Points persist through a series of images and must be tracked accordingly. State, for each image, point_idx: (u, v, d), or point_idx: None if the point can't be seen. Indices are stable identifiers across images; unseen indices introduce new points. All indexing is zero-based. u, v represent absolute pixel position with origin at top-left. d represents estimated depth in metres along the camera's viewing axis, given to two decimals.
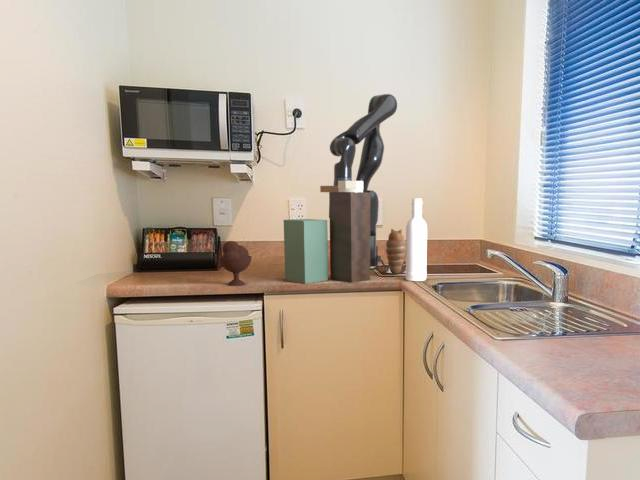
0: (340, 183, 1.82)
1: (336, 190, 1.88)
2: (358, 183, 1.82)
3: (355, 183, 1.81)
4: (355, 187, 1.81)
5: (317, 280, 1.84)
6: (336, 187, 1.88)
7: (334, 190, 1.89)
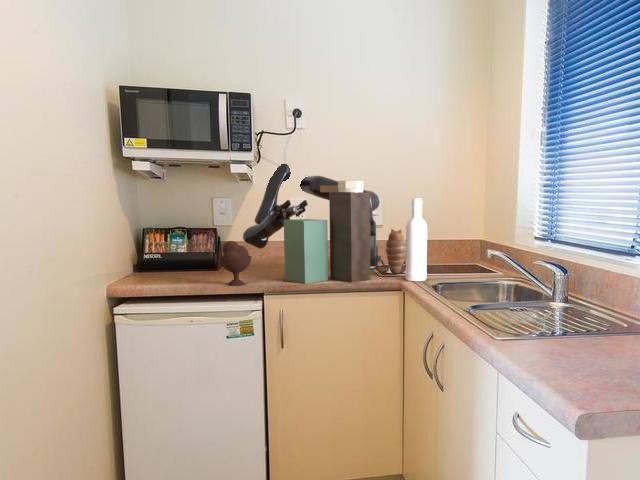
0: (340, 183, 1.82)
1: (336, 190, 1.88)
2: (358, 183, 1.82)
3: (355, 183, 1.81)
4: (355, 187, 1.81)
5: (317, 280, 1.84)
6: (336, 187, 1.88)
7: (334, 190, 1.89)
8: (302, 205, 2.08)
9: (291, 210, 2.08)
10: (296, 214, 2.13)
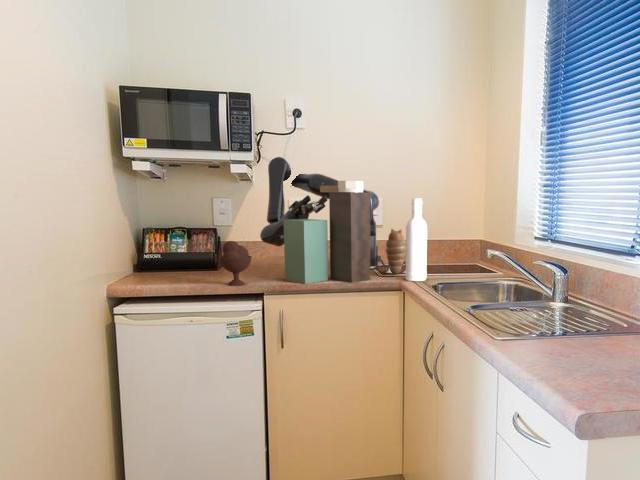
0: (340, 183, 1.82)
1: (336, 190, 1.88)
2: (358, 183, 1.82)
3: (355, 183, 1.81)
4: (355, 187, 1.81)
5: (317, 280, 1.84)
6: (336, 187, 1.88)
7: (334, 190, 1.89)
8: (322, 201, 2.01)
9: (310, 206, 2.01)
10: (315, 211, 2.06)
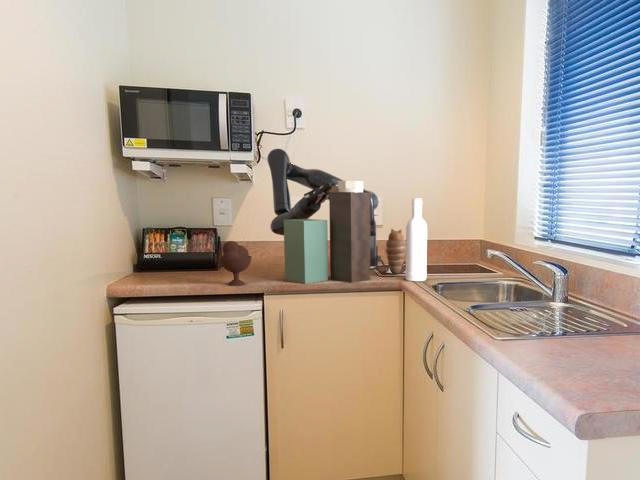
0: (340, 183, 1.82)
1: (336, 190, 1.88)
2: (358, 183, 1.81)
3: (355, 183, 1.81)
4: (355, 187, 1.81)
5: (317, 280, 1.84)
6: (336, 187, 1.88)
7: (334, 190, 1.89)
8: None
9: (323, 195, 1.95)
10: (328, 198, 2.00)
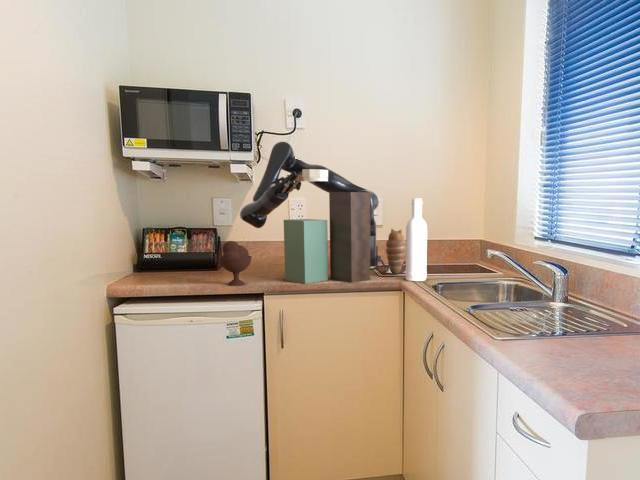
0: (304, 172, 1.82)
1: (301, 179, 1.89)
2: (322, 172, 1.82)
3: (319, 172, 1.81)
4: (319, 176, 1.81)
5: (317, 280, 1.84)
6: (301, 176, 1.88)
7: (300, 179, 1.89)
8: None
9: (290, 185, 1.96)
10: None
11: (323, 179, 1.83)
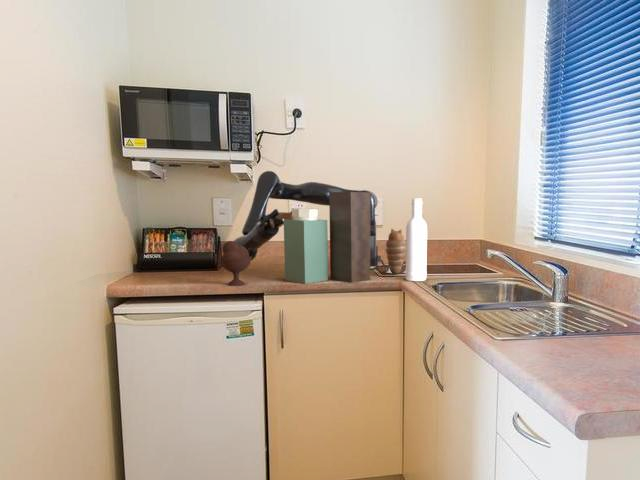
0: (294, 211, 1.81)
1: (291, 217, 1.87)
2: (312, 211, 1.80)
3: (308, 211, 1.79)
4: (308, 215, 1.80)
5: (317, 280, 1.84)
6: (291, 214, 1.87)
7: (289, 217, 1.88)
8: None
9: (280, 220, 1.94)
10: None
11: (313, 218, 1.81)
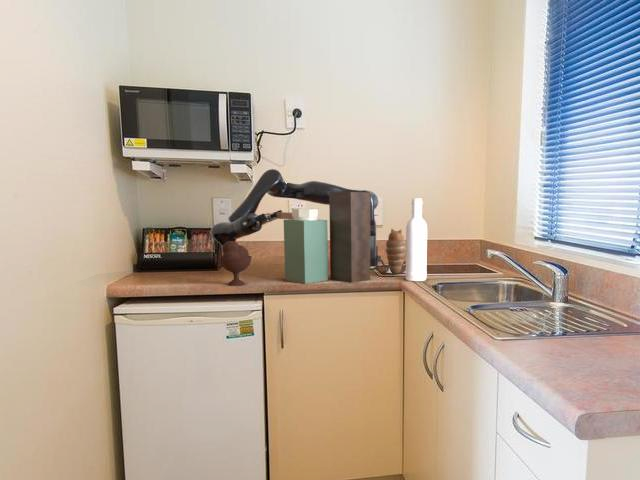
0: (294, 211, 1.81)
1: (291, 217, 1.87)
2: (312, 211, 1.80)
3: (308, 211, 1.79)
4: (308, 215, 1.80)
5: (317, 280, 1.84)
6: (291, 214, 1.87)
7: (289, 217, 1.88)
8: None
9: (265, 219, 1.99)
10: (269, 220, 2.04)
11: (313, 218, 1.81)
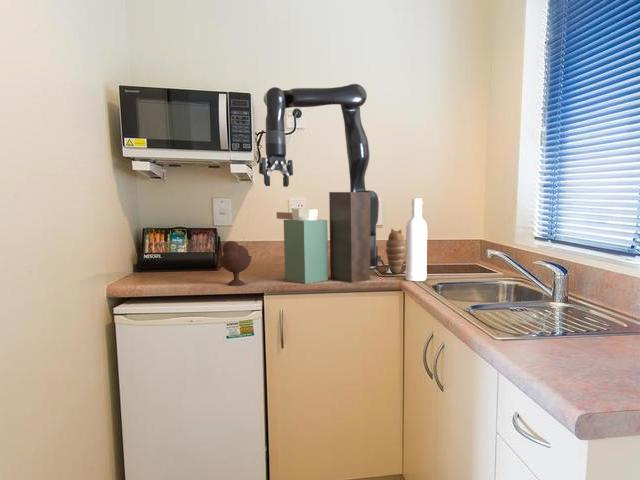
0: (294, 211, 1.81)
1: (291, 217, 1.87)
2: (312, 211, 1.80)
3: (308, 211, 1.79)
4: (308, 215, 1.80)
5: (317, 280, 1.84)
6: (291, 214, 1.87)
7: (289, 217, 1.88)
8: (284, 180, 2.01)
9: None
10: None
11: (313, 218, 1.81)
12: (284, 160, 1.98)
